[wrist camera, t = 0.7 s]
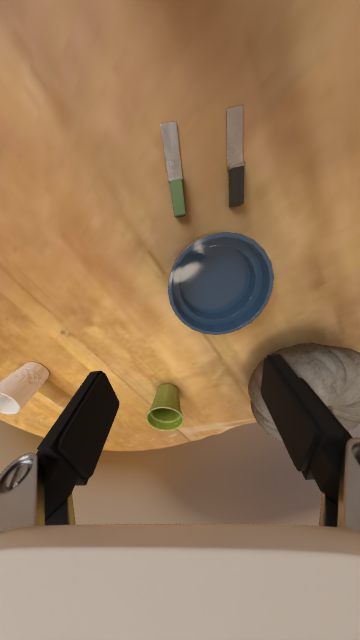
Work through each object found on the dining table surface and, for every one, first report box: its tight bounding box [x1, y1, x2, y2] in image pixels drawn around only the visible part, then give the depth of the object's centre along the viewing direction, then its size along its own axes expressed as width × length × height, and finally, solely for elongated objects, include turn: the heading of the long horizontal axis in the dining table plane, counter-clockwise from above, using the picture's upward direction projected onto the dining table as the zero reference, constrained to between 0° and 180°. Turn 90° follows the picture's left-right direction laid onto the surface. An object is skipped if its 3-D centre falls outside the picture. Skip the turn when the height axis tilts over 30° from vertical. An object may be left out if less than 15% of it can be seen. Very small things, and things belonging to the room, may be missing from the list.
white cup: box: [0, 362, 49, 414], centre depth 41 cm, size 8×8×10 cm
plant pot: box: [146, 383, 184, 431], centre depth 44 cm, size 9×9×9 cm
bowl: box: [168, 232, 274, 335], centre depth 30 cm, size 17×17×6 cm
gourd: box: [248, 343, 360, 441], centre depth 35 cm, size 25×25×17 cm
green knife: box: [161, 121, 186, 217], centre depth 24 cm, size 11×2×2 cm, turn 9°
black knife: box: [226, 105, 245, 207], centre depth 23 cm, size 11×2×2 cm, turn 9°
